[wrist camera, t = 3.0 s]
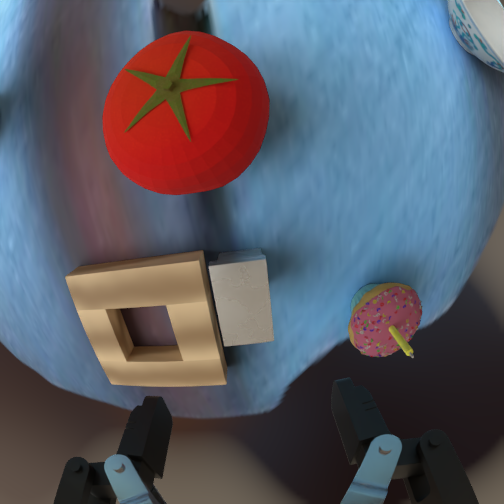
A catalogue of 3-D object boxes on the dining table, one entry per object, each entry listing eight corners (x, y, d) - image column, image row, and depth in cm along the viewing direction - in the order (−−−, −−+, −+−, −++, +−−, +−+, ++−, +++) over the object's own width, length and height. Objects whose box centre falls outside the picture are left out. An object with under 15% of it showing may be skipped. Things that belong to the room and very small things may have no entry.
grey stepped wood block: (216, 238, 26) (208, 266, 19) (258, 232, 26) (265, 259, 19) (227, 302, 28) (224, 346, 21) (265, 298, 28) (274, 340, 21)
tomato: (228, 206, 25) (218, 247, 13) (128, 162, 23) (45, 167, 11) (282, 101, 22) (322, 46, 10) (179, 59, 20) (136, -10, 8)
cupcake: (321, 311, 29) (359, 387, 17) (371, 252, 27) (438, 303, 16) (366, 341, 31) (408, 408, 19) (411, 291, 29) (470, 344, 17)
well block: (78, 266, 26) (65, 276, 23) (203, 250, 26) (198, 260, 23) (118, 369, 31) (111, 384, 28) (227, 367, 31) (226, 384, 28)
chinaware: (411, -17, 16) (439, -39, 8) (476, 12, 16) (503, 1, 8) (446, 69, 20) (487, 57, 13) (503, 90, 20) (537, 87, 13)
